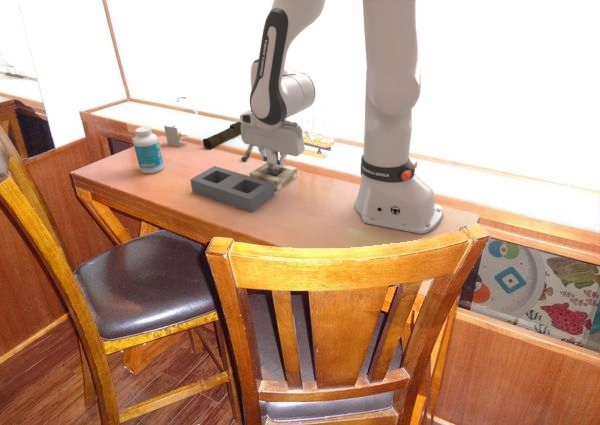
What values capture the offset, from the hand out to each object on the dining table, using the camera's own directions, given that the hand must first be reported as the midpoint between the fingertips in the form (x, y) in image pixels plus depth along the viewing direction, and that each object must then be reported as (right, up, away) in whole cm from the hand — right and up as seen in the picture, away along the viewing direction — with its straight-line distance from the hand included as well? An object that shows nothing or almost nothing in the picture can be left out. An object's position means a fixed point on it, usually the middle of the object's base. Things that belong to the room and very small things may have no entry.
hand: (273, 162), depth 128 cm
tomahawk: (-11, +7, +23) cm, 26 cm away
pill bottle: (-39, -1, +12) cm, 41 cm away
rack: (-11, -9, -4) cm, 15 cm away
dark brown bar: (-20, +11, +31) cm, 38 cm away
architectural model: (-37, +9, +28) cm, 47 cm away
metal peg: (0, -4, +3) cm, 5 cm away
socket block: (0, -5, +3) cm, 6 cm away
